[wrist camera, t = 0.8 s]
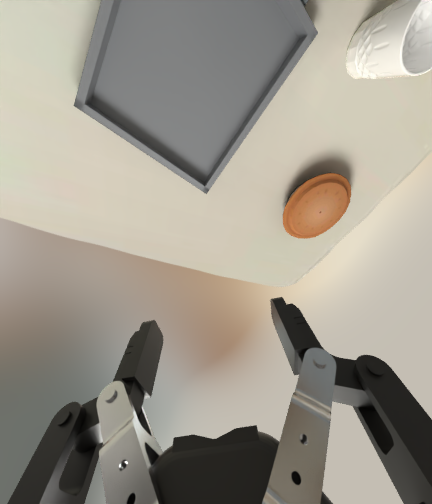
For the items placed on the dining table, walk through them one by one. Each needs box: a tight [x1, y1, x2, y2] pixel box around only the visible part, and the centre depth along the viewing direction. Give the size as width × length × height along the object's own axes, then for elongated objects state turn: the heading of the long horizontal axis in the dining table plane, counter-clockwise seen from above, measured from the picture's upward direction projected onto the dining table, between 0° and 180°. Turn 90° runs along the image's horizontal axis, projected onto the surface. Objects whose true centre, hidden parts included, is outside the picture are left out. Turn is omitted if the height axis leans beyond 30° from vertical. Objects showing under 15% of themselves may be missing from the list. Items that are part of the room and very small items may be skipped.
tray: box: [74, 0, 318, 194], centre depth 26 cm, size 26×22×3 cm
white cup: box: [346, 0, 432, 79], centre depth 25 cm, size 8×8×10 cm
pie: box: [283, 173, 351, 238], centre depth 42 cm, size 16×16×5 cm
